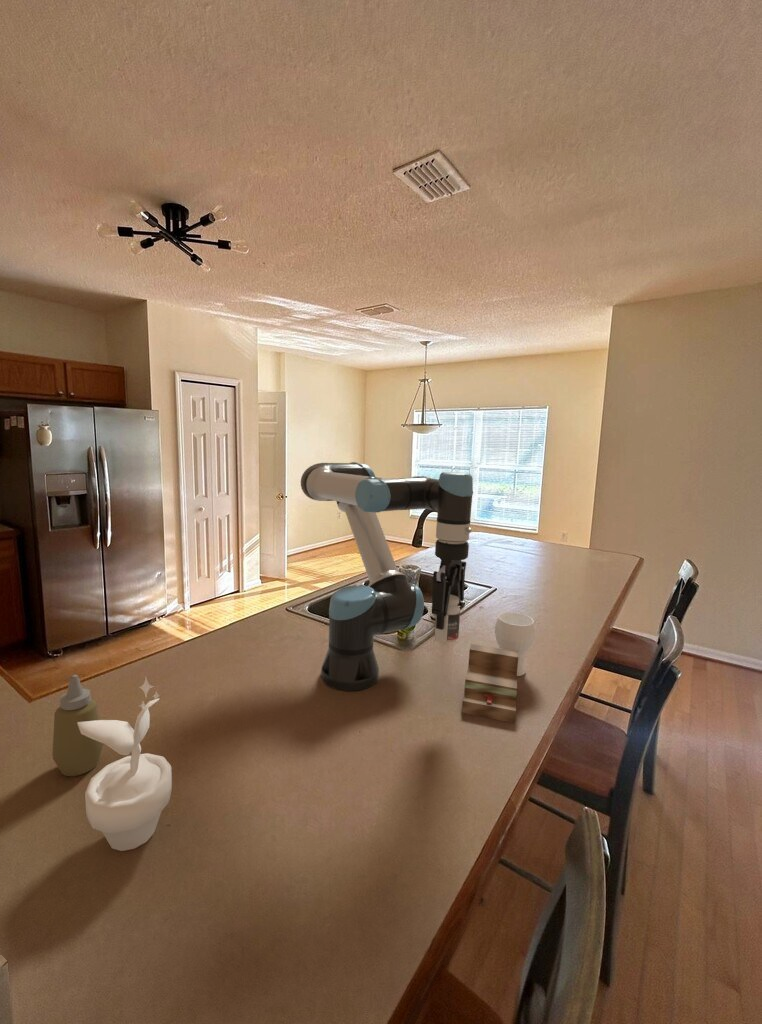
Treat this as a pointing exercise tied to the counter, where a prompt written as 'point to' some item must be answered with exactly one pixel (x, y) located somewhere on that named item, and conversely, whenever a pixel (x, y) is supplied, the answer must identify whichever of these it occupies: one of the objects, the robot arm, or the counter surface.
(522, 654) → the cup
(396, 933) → the counter surface
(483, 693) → the stand
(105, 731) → the potted plant
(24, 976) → the counter surface
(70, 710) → the squeeze bottle
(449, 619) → the pill bottle
